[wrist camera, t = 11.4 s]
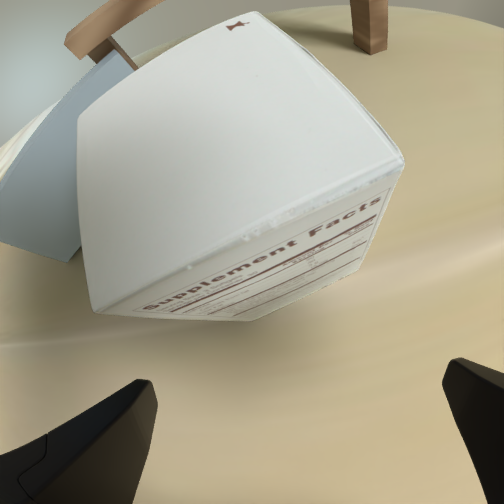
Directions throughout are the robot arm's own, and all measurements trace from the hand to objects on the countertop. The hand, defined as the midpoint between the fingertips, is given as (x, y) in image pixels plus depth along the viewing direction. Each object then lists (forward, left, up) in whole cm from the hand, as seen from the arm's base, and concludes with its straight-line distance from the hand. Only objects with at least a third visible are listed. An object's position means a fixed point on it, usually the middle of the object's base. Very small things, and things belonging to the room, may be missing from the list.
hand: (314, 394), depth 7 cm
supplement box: (+7, 0, -9) cm, 12 cm away
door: (+17, +12, -8) cm, 22 cm away
